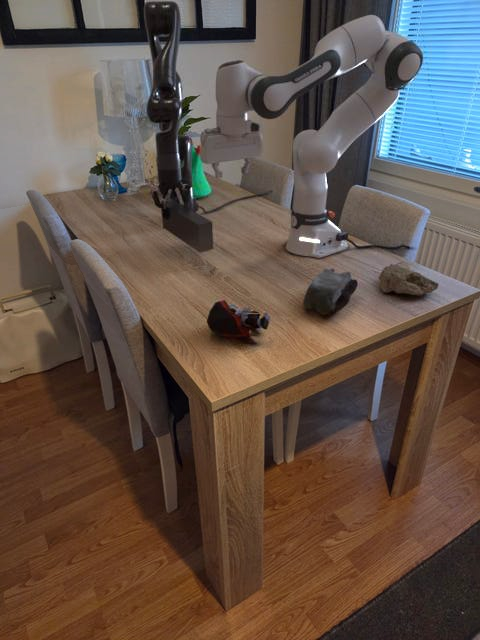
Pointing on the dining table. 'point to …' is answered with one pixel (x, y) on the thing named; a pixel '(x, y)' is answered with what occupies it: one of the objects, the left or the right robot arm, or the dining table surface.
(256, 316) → the toy
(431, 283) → the artifact
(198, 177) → the toy
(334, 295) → the dark grey rock
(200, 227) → the bar
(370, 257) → the dining table surface
